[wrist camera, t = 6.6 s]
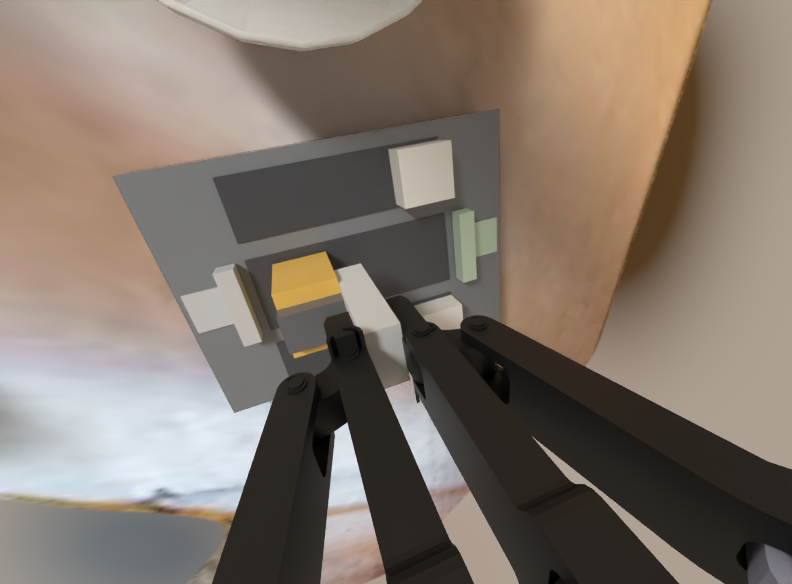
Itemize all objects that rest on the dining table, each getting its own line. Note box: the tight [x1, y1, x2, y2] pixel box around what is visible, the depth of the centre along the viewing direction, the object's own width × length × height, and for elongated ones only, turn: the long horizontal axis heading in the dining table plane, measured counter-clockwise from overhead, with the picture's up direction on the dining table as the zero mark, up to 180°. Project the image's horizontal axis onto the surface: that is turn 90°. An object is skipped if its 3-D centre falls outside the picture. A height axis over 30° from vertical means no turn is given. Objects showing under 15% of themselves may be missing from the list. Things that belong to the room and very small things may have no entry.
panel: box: [112, 109, 500, 413], centre depth 21 cm, size 20×15×4 cm
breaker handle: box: [271, 251, 347, 358], centre depth 18 cm, size 3×4×5 cm
